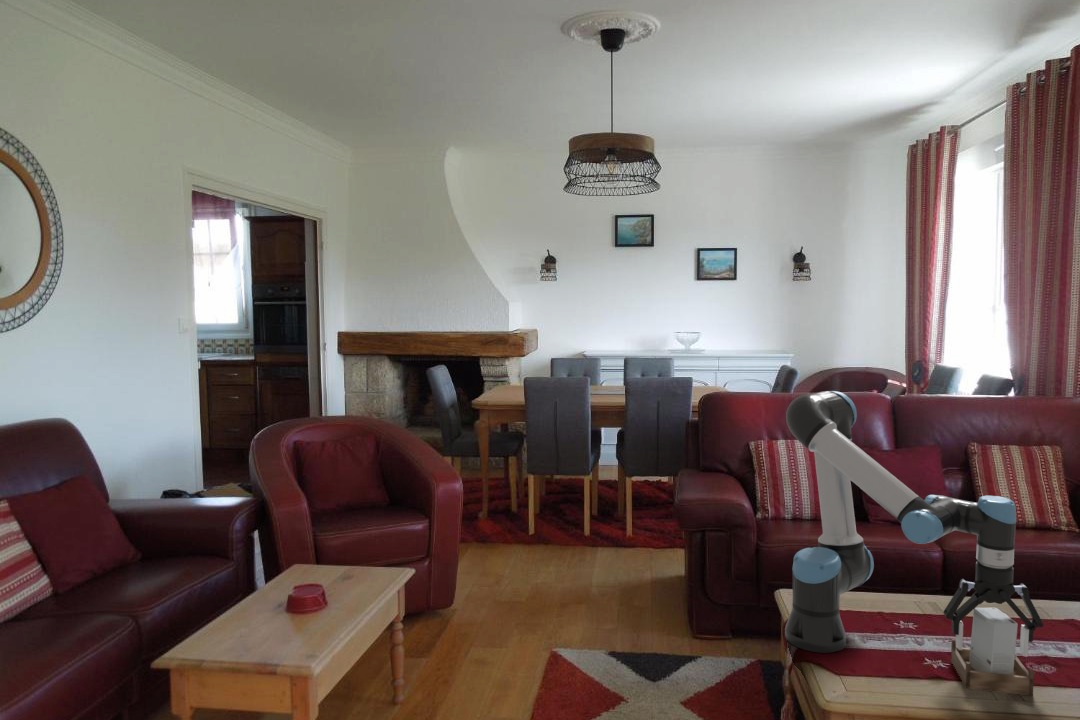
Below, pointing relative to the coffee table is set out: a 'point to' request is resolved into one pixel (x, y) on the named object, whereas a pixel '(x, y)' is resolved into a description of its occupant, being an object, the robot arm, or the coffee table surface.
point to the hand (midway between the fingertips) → (991, 650)
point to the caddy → (992, 675)
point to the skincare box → (993, 641)
